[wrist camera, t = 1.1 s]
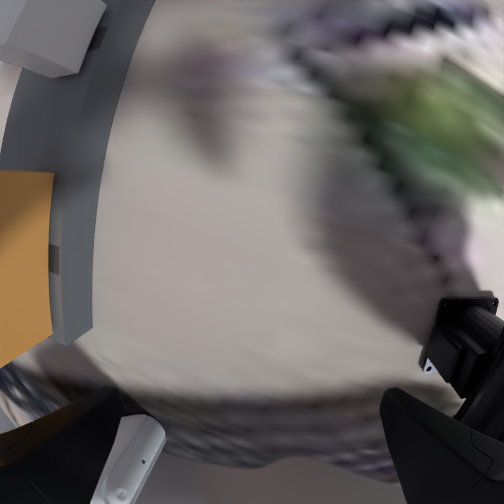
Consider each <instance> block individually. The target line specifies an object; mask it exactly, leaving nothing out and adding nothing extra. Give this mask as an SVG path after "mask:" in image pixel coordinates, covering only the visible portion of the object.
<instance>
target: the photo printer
mask: <svg viewBox="0 0 504 504" xmlns="http://www.w3.org/2000/svg"><path fill="white" fill-rule="evenodd" d="M165 442H166V437H165V431H164V428H163V427H162V425H161V424H160V423H159V422H158V421H157V420H155V419H154V418H152V417H151V416H147V415H145V414H139V415H131V416H125V417H122V418H121V421H120V425H119V428H118V432H117V435H116V439H115V442H114V445H113V447H112V450H111V452H110V455H109V457H108V459H107V462H106V464H105V467H104V469H103V472H102V474H101V477H100V479H99V482H98V484H97V487H96V490H95V492H94V495H93V498H92V500H91V503H90V504H134V503H135V501H136V499H137V496H138V495H139V493H140V491H141V489H142V487H143V485H144V483H145V481H146V479H147V477H148V475H149V473H150V471H151V469H152V467H153V465H154V463H155V461H156V459H157V458H158V455H159V454H160V452H161V450H162V448H163V446H164V444H165Z"/></svg>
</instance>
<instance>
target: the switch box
mask: <svg viewBox="0 0 504 504" xmlns="http://www.w3.org/2000/svg"><path fill="white" fill-rule="evenodd" d="M101 1H103V2H104V3H105V4H106V5H107V6H106V8H105V10H104V12H103V15H102V17H101V19H100V21H99V23H98V25H97V27H96V30H95V32H94V34H93V36H92V39H91V41H90V44H89V46H88V49H87V51H86V54H85V56H84V59H83V62H82V65H81V67H80V70H79V73H78V74H72V75H66V76H61V77H56V78H50V77H47V76H44V75H42V74H39V73H36V72H34V71H31V70H28V69H25V68H22V71H21V74H20V77H19V80H18V83H17V86H16V89H15V93H14V96H13V99H12V103H11V107H10V110H9V114H8V118H7V123H6V127H5V132H4V137H3V142H2V147H1V153H0V170H32V171H42V172H51V173H54V181H53V189H52V198H51V208H50V221H49V243H48V277H49V299H50V312H51V322H52V331H53V334H52V335H50V336H48V337H49V338H50V339H52V340H54V341H56V342H58V343H59V344H61V345H63V346H65V347H66V346H68V345H69V344H70V343H72V342H73V341H75V340H76V339H77V338H79V337H80V336H82V335H83V334H84V333H86V332H87V331H89V330H90V329H91V328H93V325H92V266H93V247H94V233H95V222H96V213H97V204H98V197H99V189H100V183H101V176H102V170H103V165H104V159H105V154H106V149H107V144H108V139H109V135H110V130H111V126H112V122H113V118H114V114H115V110H116V106H117V103H118V99H119V95H120V92H121V89H122V85H123V82H124V79H125V76H126V73H127V69H128V66H129V64H130V61H131V58H132V55H133V52H134V49H135V47H136V44H137V42H138V39H139V36H140V34H141V31H142V29H143V27H144V24H145V22H146V19H147V17H148V15H149V13H150V10H151V8H152V6H153V4H154V2H155V0H101Z"/></svg>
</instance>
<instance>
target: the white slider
mask: <svg viewBox="0 0 504 504" xmlns="http://www.w3.org/2000/svg"><path fill="white" fill-rule="evenodd" d="M106 6H107V5H106V4H105V3H104V2H103V1H101V0H11V1H10V2H9V4H8V6H7V8H6V10H5V11H4V13H3V15H2V17H1V19H0V60H1V61H5V62H8V63H11V64H14V65H17V66H19V67H22V68H25V69H28V70H31V71H34V72H36V73H39V74H42V75H44V76H47V77H50V78H56V77H61V76H66V75H72V74H78V73H79V70H80V67H81V65H82V62H83V59H84V56H85V54H86V51H87V49H88V46H89V44H90V41H91V39H92V36H93V34H94V32H95V30H96V27H97V25H98V23H99V21H100V19H101V17H102V15H103V12H104V10H105V8H106Z"/></svg>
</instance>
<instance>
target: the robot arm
mask: <svg viewBox="0 0 504 504" xmlns="http://www.w3.org/2000/svg"><path fill="white" fill-rule="evenodd" d="M493 302H494V304H493ZM445 303H447V305H446V306H445V307H444V305H445ZM498 303H499V300H498V298H496V297H452V298H443V299H442V300H441V301H440V304H439V308H438V312H437V316H436V321H435V325H434V327H433V329H432V333H431V337H430V340H429V344H428V347H427V351H426V357H425V360H424V363H423V366H422V370H423V372H424V373H425V374H432V373H439V374H440V375H441V376H442V378H443V379H444V381H445V382H446V383H450V384H451V386H452V387H453V388H454V390H455V391H456V392H457V394H458V395H459V397H460V398H461V399H463V398H466V400H465V401H464V403H463V405H462V406H461V408H460V409H459V411H458V412H457V414H456V415H454V416H453V418H451V417H449V416H447V415H445V414H444V413H442V412H440V411H438V410H436V409H435V408H433V407H431V406H429V405H428V404H426V403H424V402H422V401H420V400H419V399H417V398H415V397H413V396H412V395H410V394H408V393H406V392H405V391H403V390H401V389H400V388H398V387H393V388H388V389H386V390H385V391H384V394H383V398H382V401H381V404H380V415H381V420H382V424H383V428H384V432H385V437H386V441H387V445H388V449H389V452H390V455H391V458H392V460H393V463H394V466H395V469H396V472H397V475H398V478H399V481H400V484H401V487H402V490H403V493H404V496H405V499H406V502H407V504H504V321H503V320H501V319H500V318H499V317H497V316H496V311H497V307H498ZM429 366H430V367H429ZM428 367H429V368H428ZM427 368H428V369H427ZM123 411H124V403H123V401H122V398H121V395H120V392H119V389H118V388H117V387H115V386H110V385H106V386H104V387H102V388H100V389H98V390H96V391H94V392H92V393H90V394H88V395H86V396H84V397H82V398H80V399H78V400H76V401H74V402H72V403H70V404H68V405H66V406H64V407H62V408H60V409H58V410H56V411H54V412H51V413H49V414H47V415H45V416H43V417H41V418H39V419H36V420H34V421H33V422H30V423H28V424H25V425H23V426H21V427H18V428H16V429H13V430H11V431H8V432H5V433H2V434H0V504H90V503H91V500H92V498H93V495H94V492H95V490H96V487H97V484H98V482H99V479H100V477H101V474H102V472H103V469H104V467H105V464H106V462H107V459H108V457H109V455H110V452H111V450H112V447H113V445H114V442H115V439H116V435H117V432H118V428H119V425H120V421H121V418H122V414H123Z"/></svg>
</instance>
